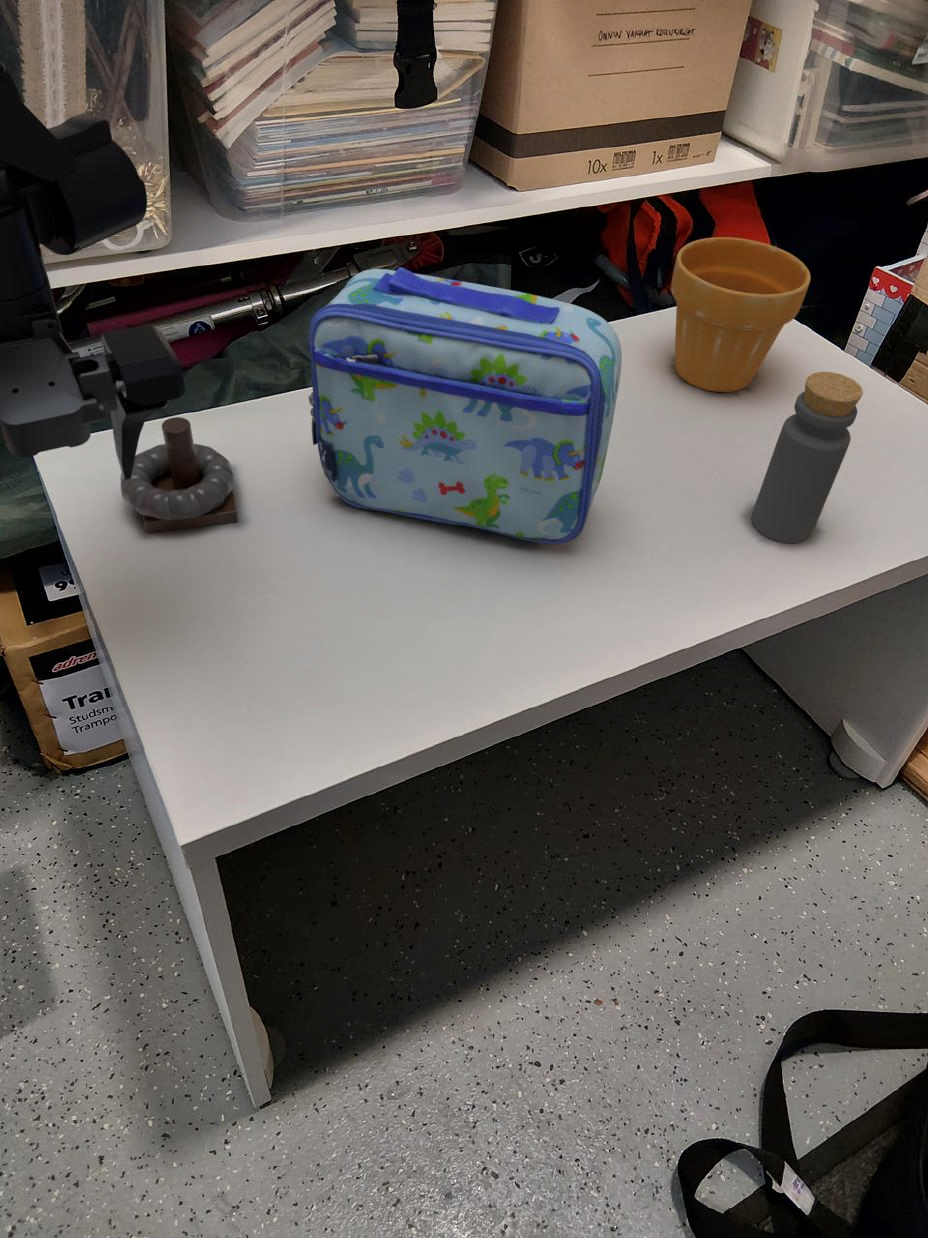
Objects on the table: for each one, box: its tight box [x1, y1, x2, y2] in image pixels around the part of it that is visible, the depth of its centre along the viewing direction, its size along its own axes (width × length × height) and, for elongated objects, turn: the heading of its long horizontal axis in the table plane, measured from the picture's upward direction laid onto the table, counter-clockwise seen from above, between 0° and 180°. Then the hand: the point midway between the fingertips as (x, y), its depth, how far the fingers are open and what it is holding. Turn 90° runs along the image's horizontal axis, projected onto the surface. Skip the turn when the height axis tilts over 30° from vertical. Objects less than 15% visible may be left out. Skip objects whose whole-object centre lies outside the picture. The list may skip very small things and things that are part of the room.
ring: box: [119, 443, 235, 521], centre depth 84 cm, size 10×10×3 cm
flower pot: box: [670, 236, 811, 393], centre depth 104 cm, size 14×14×13 cm
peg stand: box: [143, 416, 239, 533], centre depth 84 cm, size 8×8×8 cm
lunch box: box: [308, 266, 623, 545], centre depth 81 cm, size 26×11×21 cm, turn 72°
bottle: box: [751, 371, 864, 544], centre depth 84 cm, size 6×6×15 cm
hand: (60, 492), depth 66 cm, fingers open, 9 cm apart
